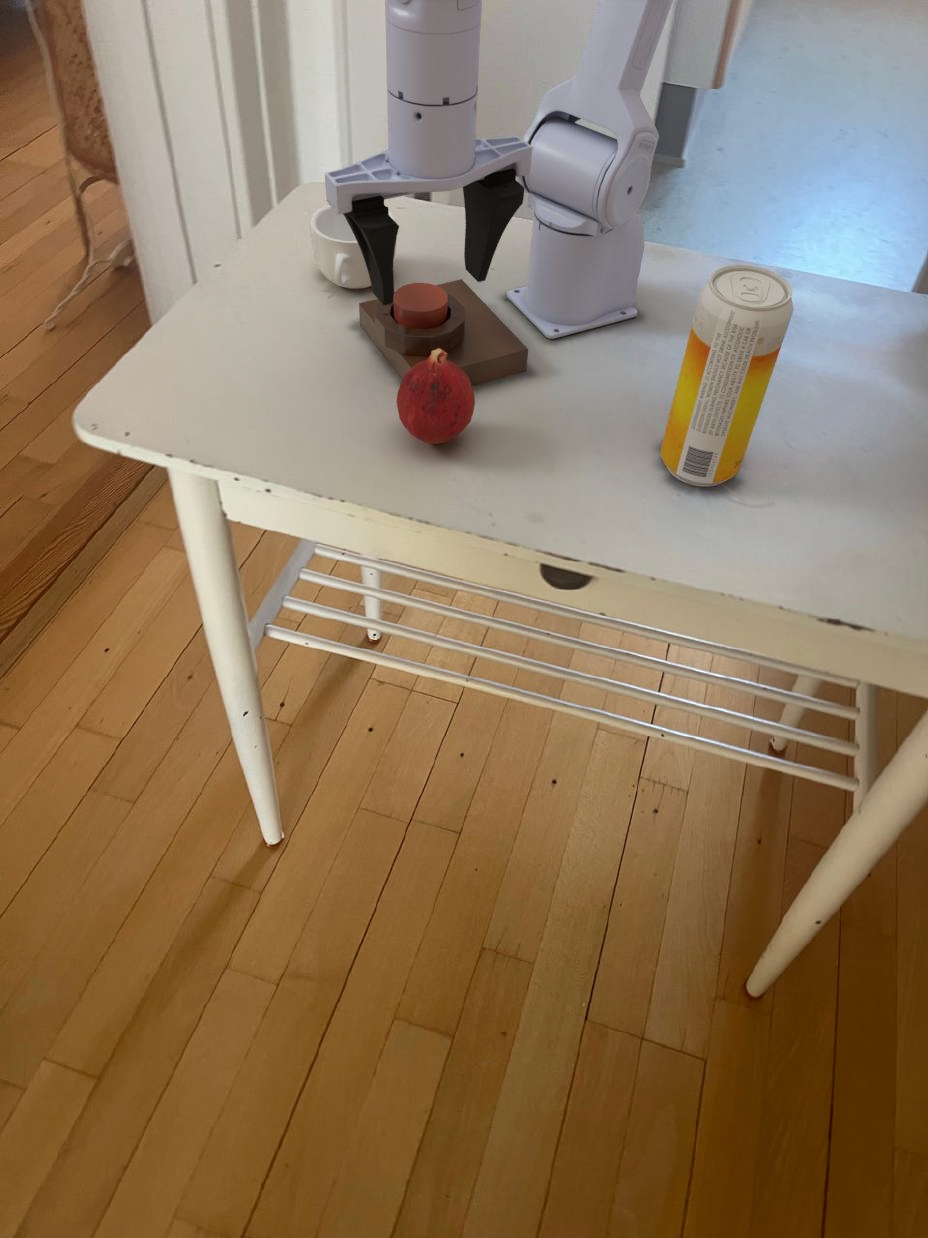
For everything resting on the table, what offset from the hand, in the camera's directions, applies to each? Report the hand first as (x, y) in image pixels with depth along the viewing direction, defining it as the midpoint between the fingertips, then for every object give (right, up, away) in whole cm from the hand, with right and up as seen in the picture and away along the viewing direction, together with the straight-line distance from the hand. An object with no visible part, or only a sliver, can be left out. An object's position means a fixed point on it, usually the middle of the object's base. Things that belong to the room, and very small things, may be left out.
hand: (429, 286), depth 70 cm
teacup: (-8, +6, +18) cm, 21 cm away
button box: (+1, -1, +12) cm, 12 cm away
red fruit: (0, -11, +3) cm, 12 cm away
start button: (-1, 0, +8) cm, 8 cm away
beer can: (+20, -13, +3) cm, 24 cm away
